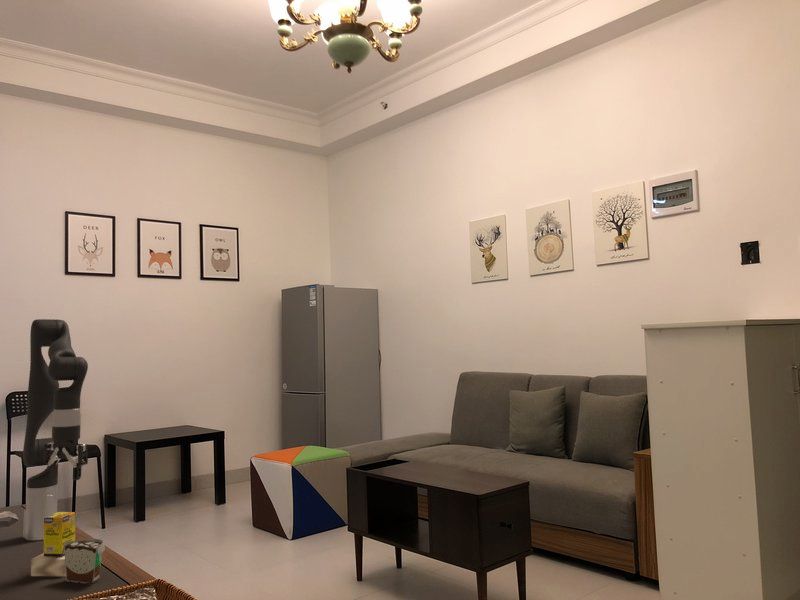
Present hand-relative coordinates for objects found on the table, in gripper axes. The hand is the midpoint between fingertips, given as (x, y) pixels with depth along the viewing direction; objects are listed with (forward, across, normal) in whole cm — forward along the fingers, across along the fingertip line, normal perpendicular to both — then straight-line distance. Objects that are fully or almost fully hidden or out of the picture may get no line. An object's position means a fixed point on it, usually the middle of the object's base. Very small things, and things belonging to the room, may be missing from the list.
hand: (64, 479), depth 187 cm
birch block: (+25, -3, +4) cm, 26 cm away
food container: (+25, -17, +8) cm, 31 cm away
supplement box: (+20, -3, +4) cm, 21 cm away
